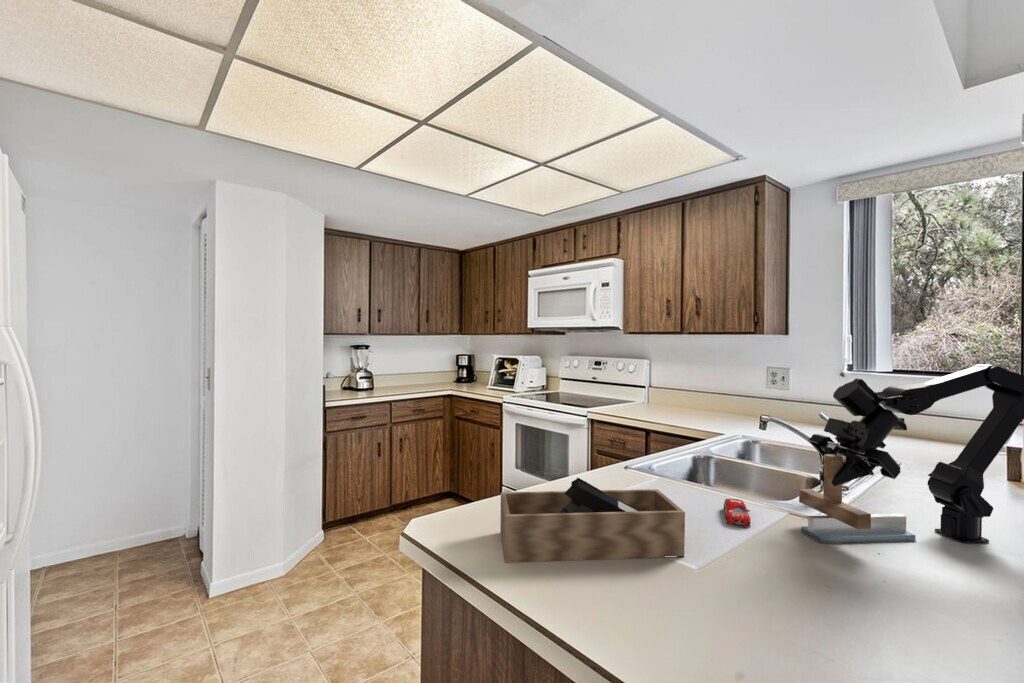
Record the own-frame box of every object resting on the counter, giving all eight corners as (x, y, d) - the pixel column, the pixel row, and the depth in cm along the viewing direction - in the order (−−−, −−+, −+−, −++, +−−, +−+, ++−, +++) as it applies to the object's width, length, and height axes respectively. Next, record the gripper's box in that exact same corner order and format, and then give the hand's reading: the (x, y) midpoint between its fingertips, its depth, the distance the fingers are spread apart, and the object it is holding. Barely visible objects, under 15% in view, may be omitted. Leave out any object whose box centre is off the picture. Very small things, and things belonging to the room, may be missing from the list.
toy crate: (657, 528, 109) (657, 489, 108) (684, 556, 95) (684, 512, 95) (500, 532, 106) (500, 492, 105) (504, 562, 92) (505, 516, 92)
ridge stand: (891, 529, 109) (891, 509, 109) (915, 540, 103) (915, 520, 103) (800, 531, 107) (801, 512, 107) (820, 543, 101) (820, 522, 101)
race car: (751, 531, 108) (752, 514, 108) (725, 527, 110) (726, 510, 110) (746, 511, 120) (746, 495, 120) (722, 508, 122) (723, 492, 122)
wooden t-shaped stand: (799, 502, 112) (799, 447, 112) (810, 501, 113) (811, 447, 113) (857, 529, 97) (859, 465, 96) (870, 528, 97) (871, 465, 97)
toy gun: (631, 585, 102) (661, 521, 104) (543, 544, 96) (576, 477, 98) (623, 578, 106) (652, 516, 108) (537, 537, 99) (570, 472, 101)
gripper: (815, 400, 114) (774, 447, 112) (889, 413, 96) (841, 469, 94) (843, 431, 116) (803, 479, 114) (921, 450, 97) (874, 506, 96)
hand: (827, 482), depth 104 cm, fingers open, 3 cm apart
